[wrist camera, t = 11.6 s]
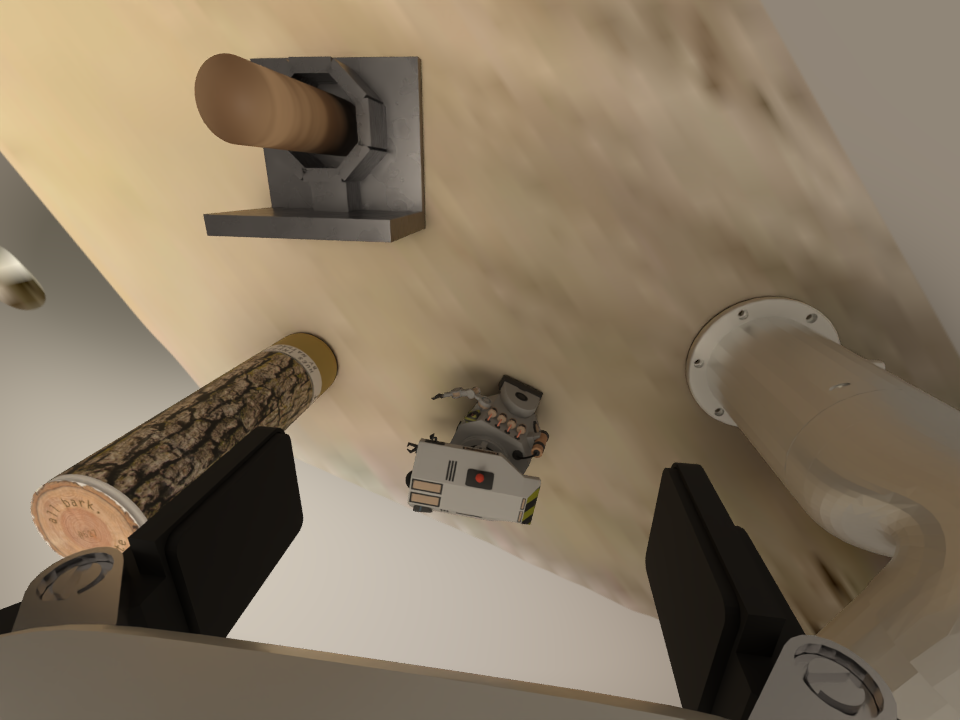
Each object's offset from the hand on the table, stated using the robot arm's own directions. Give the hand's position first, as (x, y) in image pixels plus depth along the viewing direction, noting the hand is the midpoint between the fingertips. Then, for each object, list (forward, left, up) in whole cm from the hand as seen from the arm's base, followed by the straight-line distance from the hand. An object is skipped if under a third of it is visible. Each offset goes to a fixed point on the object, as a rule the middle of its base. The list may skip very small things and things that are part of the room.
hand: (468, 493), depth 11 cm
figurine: (+3, +15, -32) cm, 36 cm away
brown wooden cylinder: (+16, -11, -31) cm, 37 cm away
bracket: (+16, -9, -32) cm, 37 cm away
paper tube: (+22, +11, -32) cm, 41 cm away
